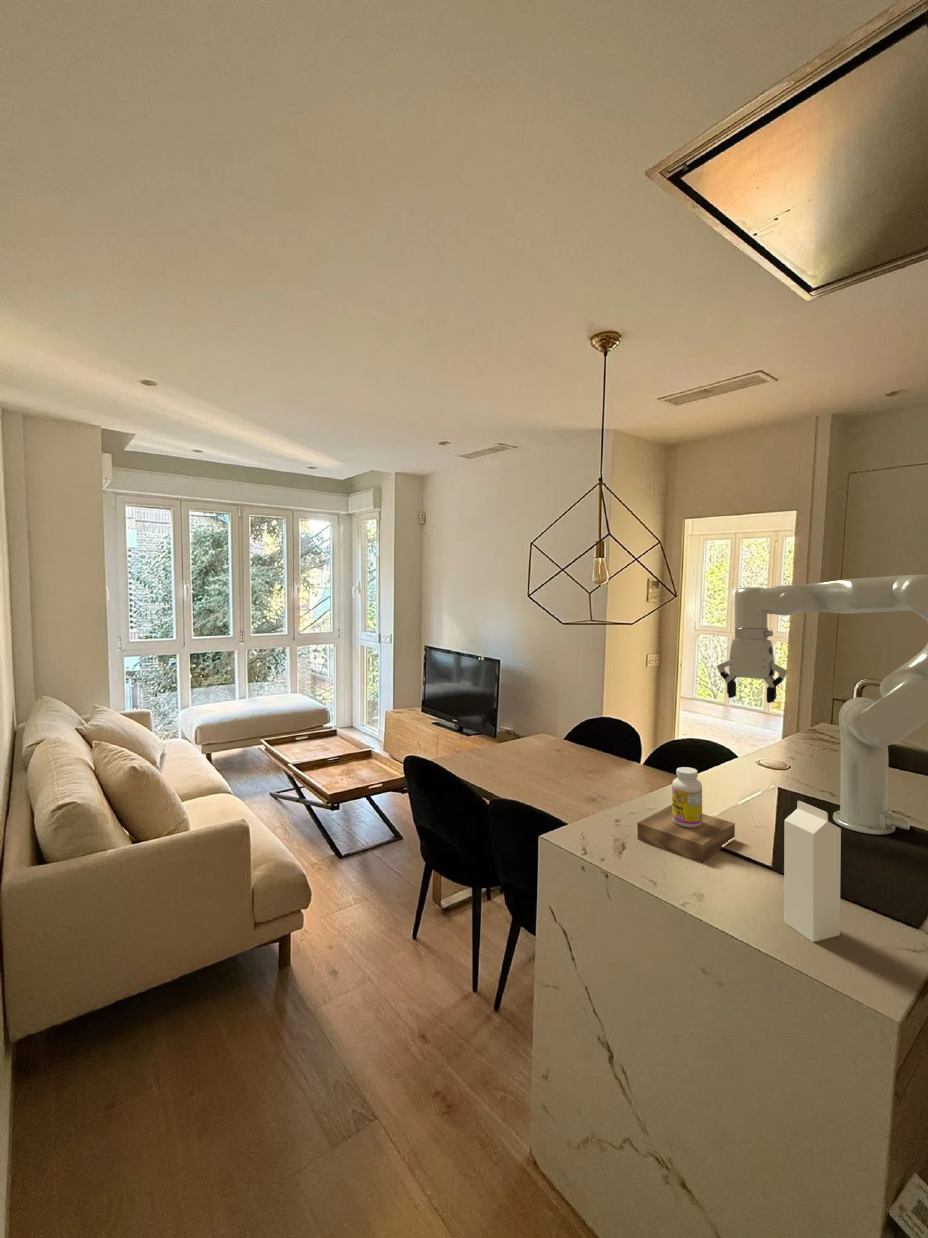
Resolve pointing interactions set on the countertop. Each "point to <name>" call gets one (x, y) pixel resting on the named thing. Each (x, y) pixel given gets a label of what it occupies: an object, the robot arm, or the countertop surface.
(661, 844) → the plinth
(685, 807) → the supplement bottle
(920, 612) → the robot arm
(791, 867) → the milk
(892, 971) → the countertop surface
